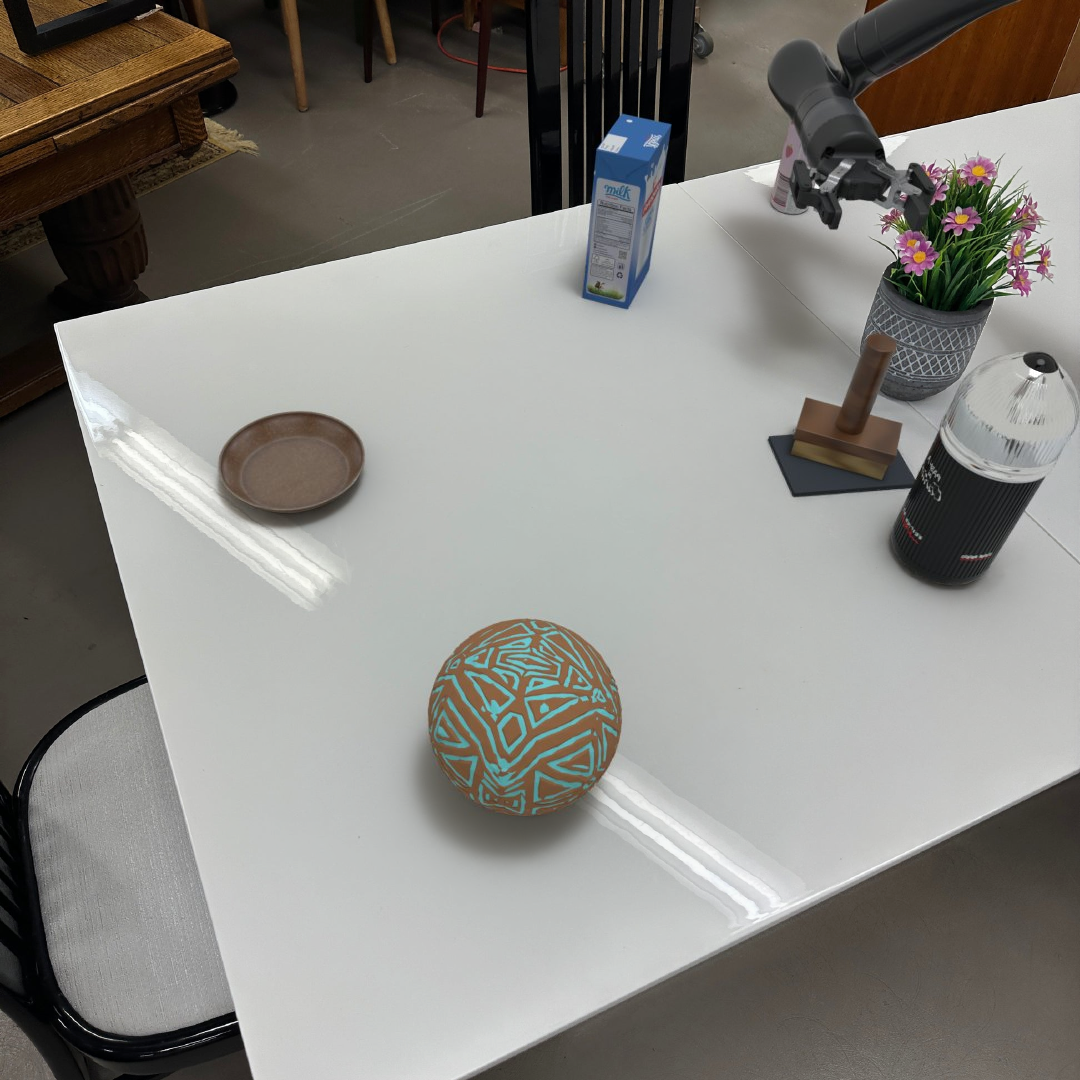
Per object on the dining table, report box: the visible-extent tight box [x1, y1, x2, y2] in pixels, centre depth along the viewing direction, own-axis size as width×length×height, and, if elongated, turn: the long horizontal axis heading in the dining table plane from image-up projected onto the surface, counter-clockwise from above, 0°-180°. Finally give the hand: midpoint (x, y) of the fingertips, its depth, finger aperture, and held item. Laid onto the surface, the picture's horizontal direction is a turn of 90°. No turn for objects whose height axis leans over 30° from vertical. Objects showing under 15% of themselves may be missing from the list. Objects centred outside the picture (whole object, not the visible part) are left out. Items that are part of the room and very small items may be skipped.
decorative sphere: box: [427, 618, 623, 817], centre depth 75 cm, size 15×15×15 cm
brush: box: [791, 333, 903, 480], centre depth 101 cm, size 11×6×15 cm, turn 69°
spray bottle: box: [890, 350, 1080, 586], centre depth 89 cm, size 10×10×25 cm
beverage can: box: [770, 119, 816, 215], centre depth 137 cm, size 6×6×15 cm
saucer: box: [217, 410, 366, 514], centre depth 100 cm, size 15×15×3 cm
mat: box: [767, 433, 916, 498], centre depth 106 cm, size 14×9×1 cm, turn 99°
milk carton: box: [582, 113, 672, 310], centre depth 120 cm, size 10×6×20 cm, turn 160°
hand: (878, 222), depth 97 cm, fingers open, 8 cm apart
